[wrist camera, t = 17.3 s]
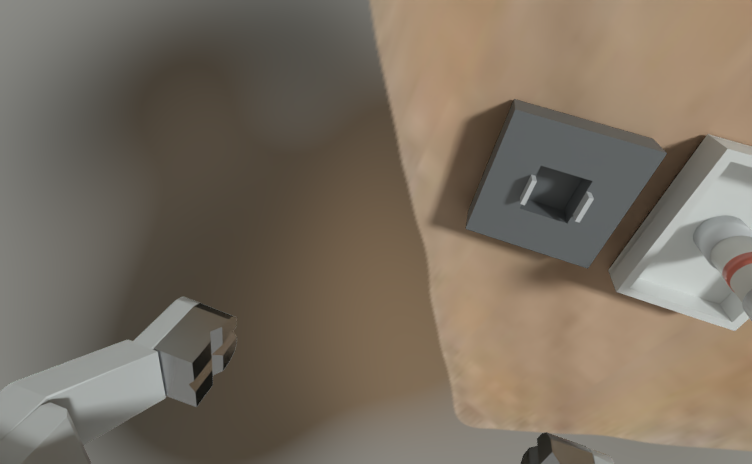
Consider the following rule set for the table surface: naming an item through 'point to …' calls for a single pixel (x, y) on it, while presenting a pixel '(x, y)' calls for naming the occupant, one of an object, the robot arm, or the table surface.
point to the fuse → (729, 253)
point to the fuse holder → (560, 182)
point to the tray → (690, 237)
